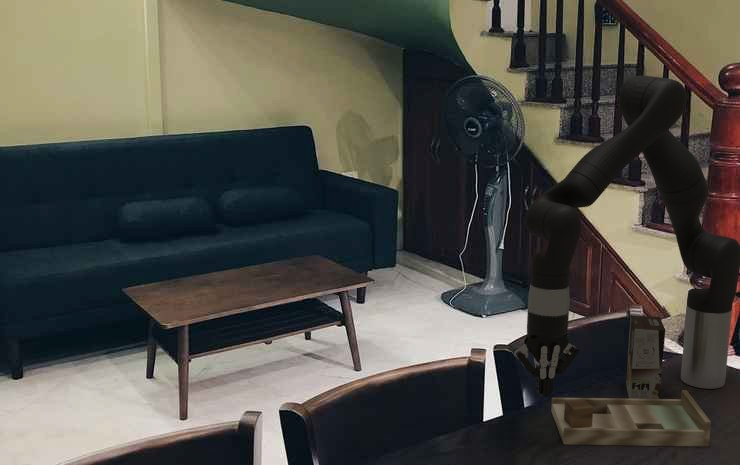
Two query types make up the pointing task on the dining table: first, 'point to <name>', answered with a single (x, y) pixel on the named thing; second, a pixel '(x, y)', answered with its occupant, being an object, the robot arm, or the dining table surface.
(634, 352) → the coffee box
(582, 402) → the walnut block
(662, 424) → the tray
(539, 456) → the dining table surface
